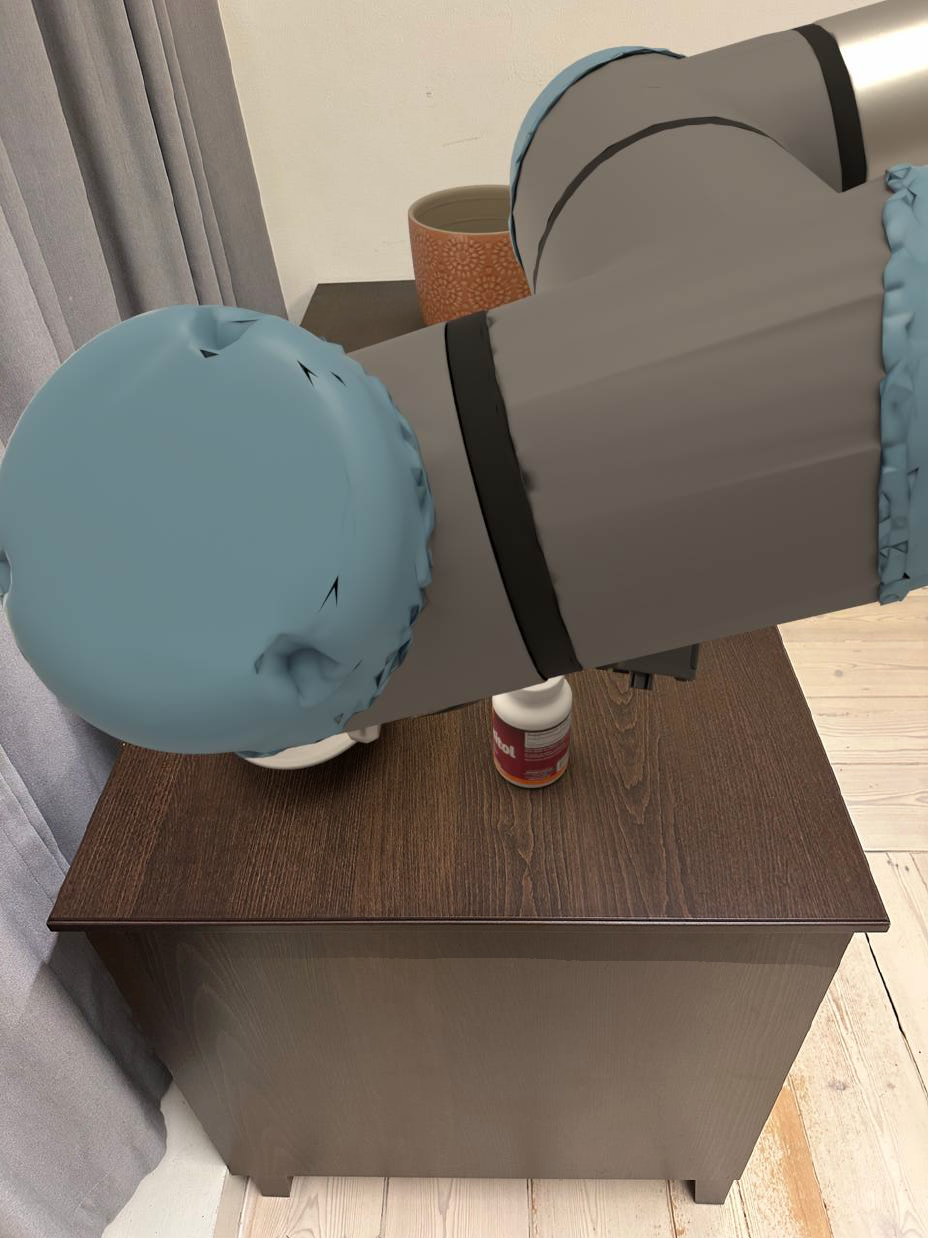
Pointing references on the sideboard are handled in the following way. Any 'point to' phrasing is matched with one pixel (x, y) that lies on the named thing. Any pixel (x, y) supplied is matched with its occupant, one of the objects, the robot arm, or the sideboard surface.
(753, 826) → the sideboard surface
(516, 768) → the pill bottle
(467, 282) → the planter
